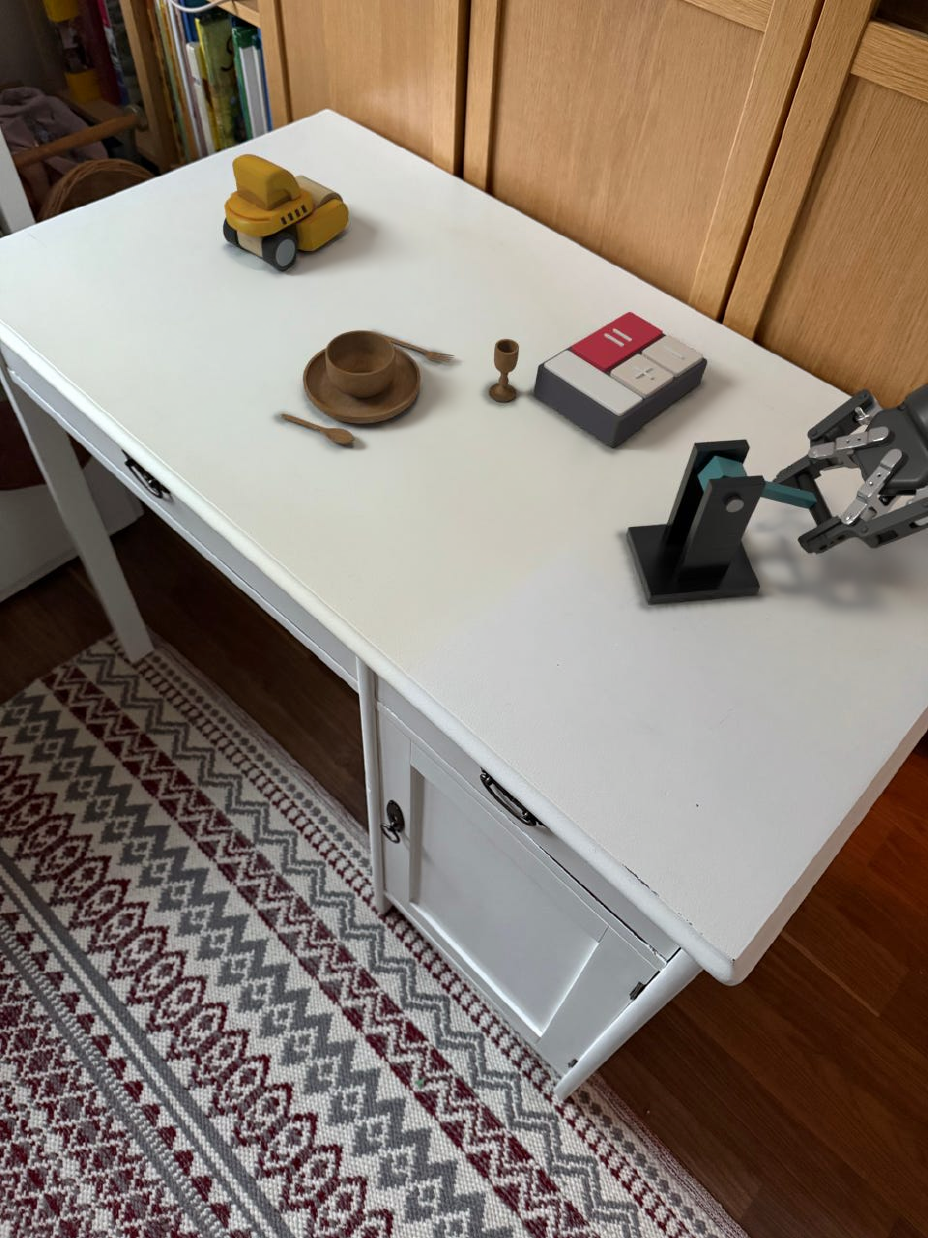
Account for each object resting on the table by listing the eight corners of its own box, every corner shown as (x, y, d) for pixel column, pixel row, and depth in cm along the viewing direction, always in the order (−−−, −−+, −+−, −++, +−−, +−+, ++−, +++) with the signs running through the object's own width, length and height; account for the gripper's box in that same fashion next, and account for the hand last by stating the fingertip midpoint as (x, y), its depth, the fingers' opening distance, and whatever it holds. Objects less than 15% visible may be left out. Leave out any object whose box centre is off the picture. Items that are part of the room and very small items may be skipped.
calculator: (712, 353, 94) (622, 415, 87) (700, 387, 97) (612, 449, 90) (629, 304, 98) (537, 359, 91) (620, 338, 101) (531, 393, 94)
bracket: (729, 527, 85) (773, 423, 74) (756, 594, 80) (807, 495, 70) (625, 535, 84) (655, 431, 73) (647, 604, 79) (683, 504, 69)
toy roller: (356, 229, 110) (351, 143, 102) (270, 282, 103) (257, 194, 95) (303, 202, 113) (294, 116, 105) (217, 252, 106) (199, 163, 98)
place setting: (359, 324, 100) (357, 276, 95) (522, 387, 95) (528, 340, 90) (266, 418, 91) (258, 370, 86) (441, 493, 86) (443, 447, 81)
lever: (800, 489, 80) (819, 470, 78) (823, 537, 77) (844, 519, 75) (691, 460, 75) (708, 440, 73) (711, 511, 72) (730, 490, 70)
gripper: (1045, 492, 69) (837, 599, 77) (959, 368, 77) (780, 477, 85) (1018, 445, 64) (799, 565, 72) (930, 317, 72) (742, 438, 80)
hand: (789, 517), depth 78 cm, fingers open, 6 cm apart
